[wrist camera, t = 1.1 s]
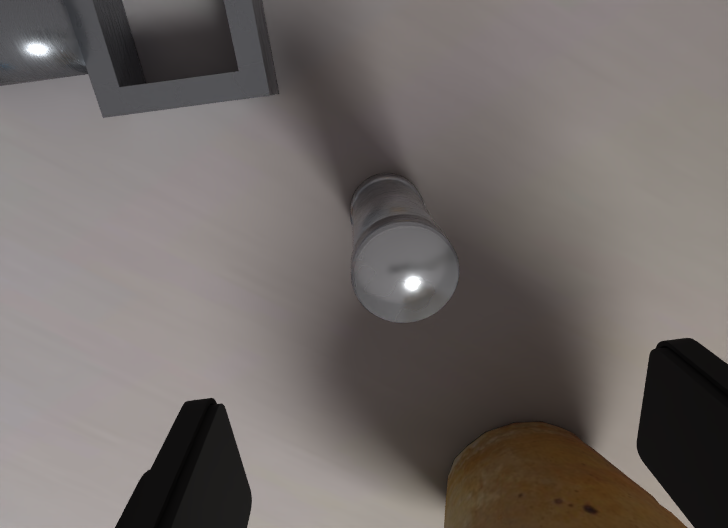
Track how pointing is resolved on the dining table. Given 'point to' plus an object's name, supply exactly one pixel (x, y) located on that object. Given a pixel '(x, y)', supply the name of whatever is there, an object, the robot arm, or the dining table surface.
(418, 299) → the silver capped cylinder
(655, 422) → the robot arm
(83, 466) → the dining table surface
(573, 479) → the potted plant
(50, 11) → the grey framed piece
